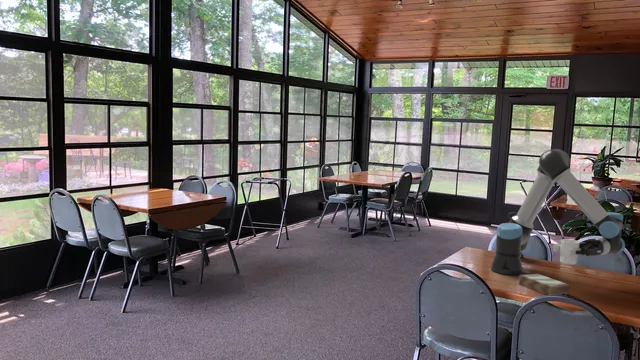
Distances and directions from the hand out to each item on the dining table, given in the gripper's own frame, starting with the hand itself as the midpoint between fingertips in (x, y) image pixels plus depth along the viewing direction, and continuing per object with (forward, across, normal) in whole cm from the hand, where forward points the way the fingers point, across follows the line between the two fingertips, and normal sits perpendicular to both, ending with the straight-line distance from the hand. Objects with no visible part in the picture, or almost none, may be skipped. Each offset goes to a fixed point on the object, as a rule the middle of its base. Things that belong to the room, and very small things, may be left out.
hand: (561, 250), depth 231 cm
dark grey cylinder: (-25, +53, -18) cm, 61 cm away
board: (+6, +2, -18) cm, 19 cm away
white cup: (-5, 0, -6) cm, 8 cm away
